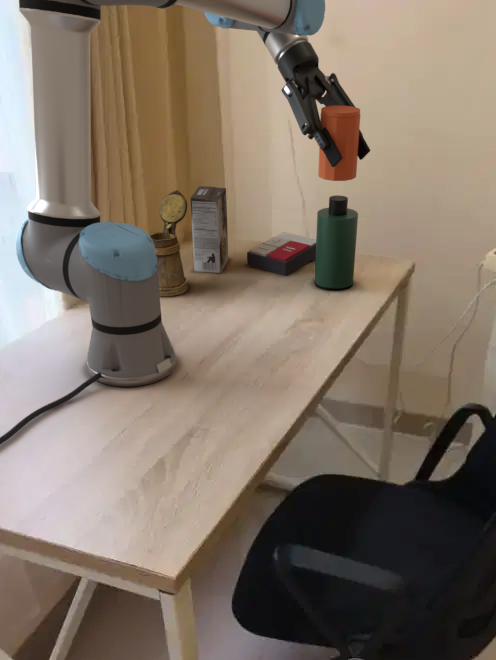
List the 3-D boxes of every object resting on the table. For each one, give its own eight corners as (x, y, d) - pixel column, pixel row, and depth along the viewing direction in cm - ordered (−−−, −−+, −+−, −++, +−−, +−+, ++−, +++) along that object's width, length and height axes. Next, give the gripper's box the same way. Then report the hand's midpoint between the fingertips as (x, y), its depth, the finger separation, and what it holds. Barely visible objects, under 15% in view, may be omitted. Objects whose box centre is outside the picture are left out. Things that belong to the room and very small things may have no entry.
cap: (332, 182, 145) (335, 114, 138) (311, 174, 150) (313, 107, 143) (363, 177, 148) (368, 110, 141) (341, 169, 153) (345, 104, 146)
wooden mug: (202, 276, 166) (197, 191, 155) (177, 299, 155) (170, 210, 144) (165, 271, 168) (158, 187, 157) (138, 293, 157) (128, 205, 146)
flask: (328, 294, 158) (333, 206, 147) (306, 280, 164) (309, 195, 153) (361, 286, 162) (368, 200, 151) (338, 273, 168) (343, 190, 157)
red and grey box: (245, 249, 169) (283, 229, 178) (246, 267, 172) (283, 246, 181) (286, 259, 164) (322, 238, 173) (286, 278, 167) (321, 256, 176)
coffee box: (202, 257, 175) (198, 185, 165) (229, 259, 174) (227, 186, 164) (193, 271, 168) (188, 197, 158) (221, 273, 167) (218, 198, 157)
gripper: (317, 63, 153) (372, 161, 154) (245, 73, 141) (305, 180, 142) (338, 35, 147) (396, 138, 148) (264, 43, 135) (327, 155, 136)
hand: (351, 158), depth 145 cm, fingers closed on cap, 8 cm apart
